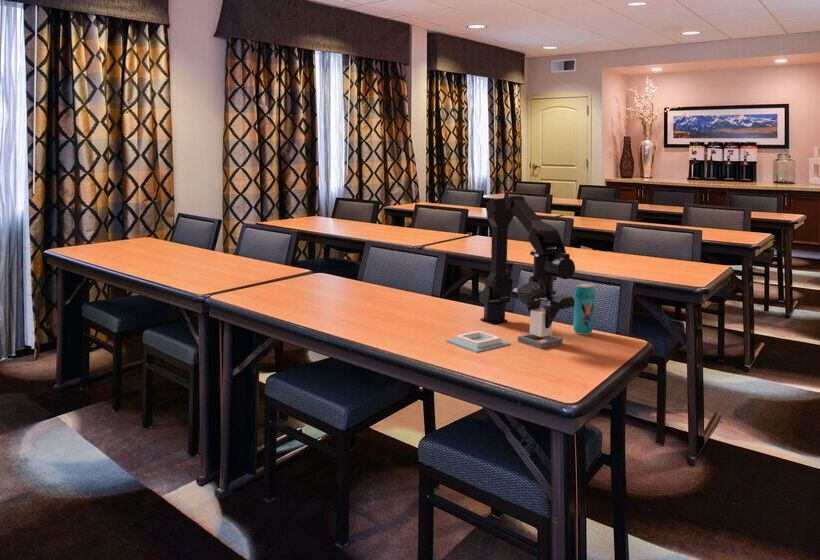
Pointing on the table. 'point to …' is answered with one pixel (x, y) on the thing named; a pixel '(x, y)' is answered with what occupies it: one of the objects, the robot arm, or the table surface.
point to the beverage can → (584, 308)
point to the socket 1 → (478, 341)
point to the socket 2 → (551, 342)
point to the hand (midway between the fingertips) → (540, 326)
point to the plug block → (539, 323)
